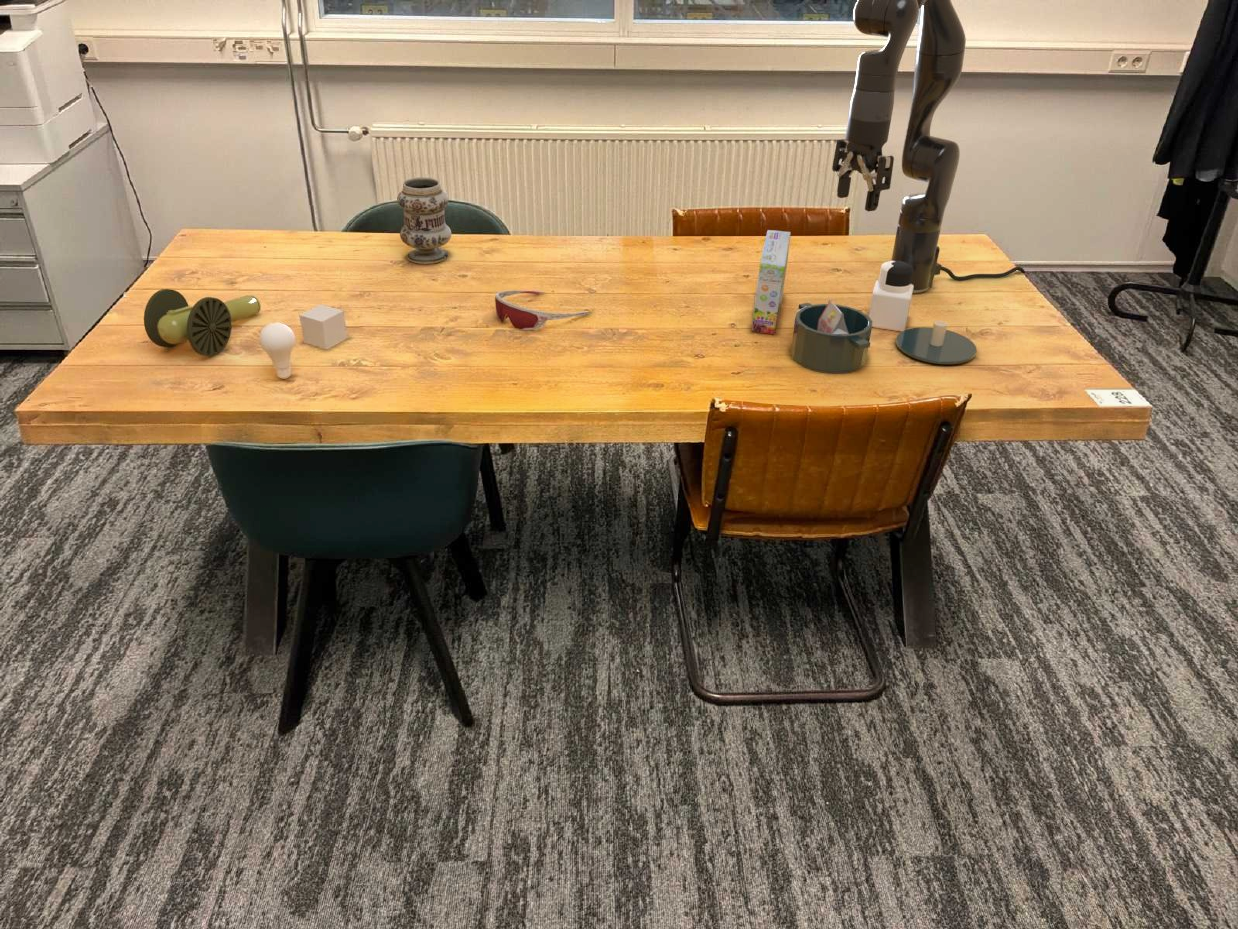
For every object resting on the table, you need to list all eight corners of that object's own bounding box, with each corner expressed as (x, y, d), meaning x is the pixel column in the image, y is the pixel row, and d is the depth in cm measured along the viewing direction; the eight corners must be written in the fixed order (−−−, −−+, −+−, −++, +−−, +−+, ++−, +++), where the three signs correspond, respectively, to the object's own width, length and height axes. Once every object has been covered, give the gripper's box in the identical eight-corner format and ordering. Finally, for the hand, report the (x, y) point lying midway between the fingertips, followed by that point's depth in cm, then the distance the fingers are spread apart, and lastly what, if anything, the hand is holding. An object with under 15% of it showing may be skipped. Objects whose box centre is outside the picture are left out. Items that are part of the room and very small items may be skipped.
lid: (939, 327, 199) (944, 302, 196) (992, 358, 187) (999, 332, 184) (879, 340, 194) (884, 314, 190) (930, 373, 182) (936, 346, 179)
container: (907, 317, 203) (918, 260, 196) (904, 332, 197) (916, 273, 189) (870, 312, 205) (880, 255, 198) (866, 326, 199) (876, 268, 192)
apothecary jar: (448, 266, 222) (442, 190, 212) (397, 265, 222) (388, 189, 212) (456, 248, 232) (451, 175, 223) (408, 247, 232) (400, 173, 223)
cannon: (232, 308, 201) (221, 257, 195) (279, 317, 198) (269, 265, 191) (145, 358, 181) (130, 303, 175) (195, 369, 178) (181, 313, 172)
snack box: (777, 335, 194) (786, 266, 186) (750, 332, 195) (757, 263, 187) (783, 295, 212) (791, 230, 203) (758, 292, 213) (765, 227, 204)
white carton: (831, 345, 190) (839, 299, 184) (844, 361, 184) (852, 313, 179) (814, 346, 189) (821, 300, 184) (826, 362, 184) (833, 314, 178)
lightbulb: (271, 370, 178) (260, 317, 172) (305, 370, 179) (294, 316, 172) (264, 386, 173) (252, 331, 167) (298, 385, 173) (287, 331, 167)
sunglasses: (477, 313, 200) (479, 290, 198) (535, 303, 212) (537, 282, 210) (532, 339, 191) (535, 315, 188) (590, 327, 203) (593, 304, 200)
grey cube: (326, 349, 186) (321, 321, 182) (304, 342, 188) (298, 315, 185) (348, 338, 190) (343, 310, 187) (325, 331, 193) (320, 304, 189)
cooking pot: (828, 329, 197) (833, 294, 193) (889, 371, 182) (897, 333, 178) (769, 342, 192) (773, 305, 188) (827, 385, 177) (833, 347, 173)
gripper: (912, 121, 165) (896, 212, 174) (862, 103, 176) (849, 190, 185) (878, 125, 163) (863, 217, 172) (829, 107, 173) (817, 195, 182)
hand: (856, 203), depth 178 cm, fingers open, 8 cm apart
